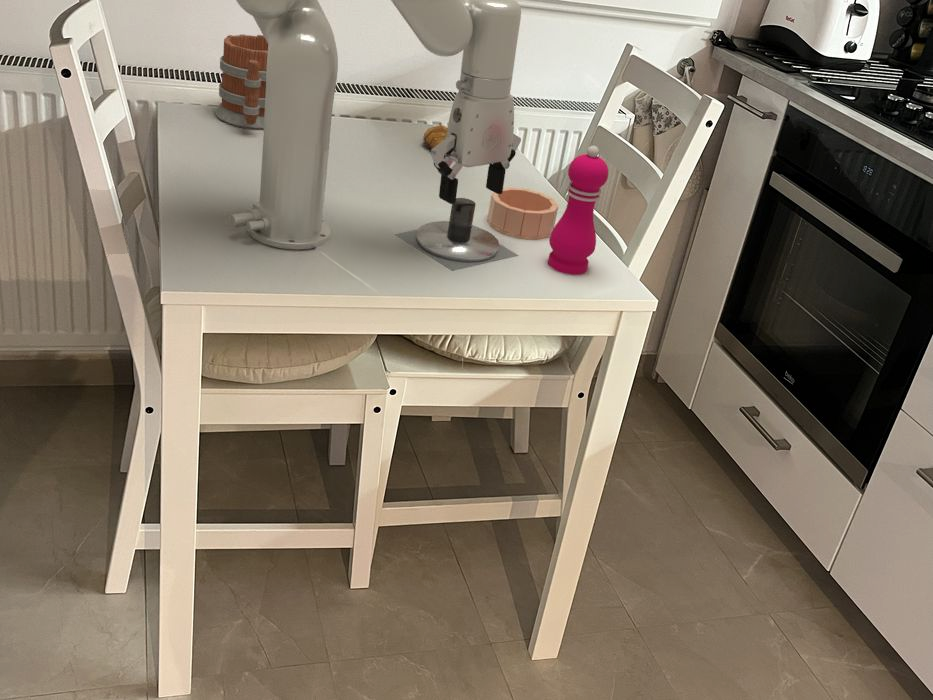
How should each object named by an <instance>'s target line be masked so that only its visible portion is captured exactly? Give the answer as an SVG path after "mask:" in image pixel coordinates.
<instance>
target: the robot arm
mask: <svg viewBox="0 0 933 700" xmlns="http://www.w3.org/2000/svg"><path fill="white" fill-rule="evenodd" d="M235 1H236V3H237V4H238V6H239V7H240V8H241V9H242V10H243V11H244V12H246V13H247V14H249V15H250V16H252V17H253V19H254V21H255V23H256V25H257V27H258V28H259V31H260V32H261V34H262V35H263V36H264V37H265V39H266V41H267V43H268V55H267V72H266V96H265V112H264V129H262V130H263V136H262V137H263V138H262V151H261V152H262V153H261V155H262V156H261V171H260V172H261V173H260V186H259V187H260V188H259V201H256V202H253V203H252V209H249V210H248V211H246V212H240V213H239V212H238V213H233V214H230V215H229V217H228V223H229V225H230V227H231V228H239V227H244V226H245V228H246V230H247V232H248V234H249V235H250V237H252V238H253V239H254V240H256V241H258V242H259V243H262V244H264V245H267V246H270V247H274V248H279V249H285V250H310V249H313V248H314V249H315V248H317V247H320V246H322V245H325V244H327V243H328V242H329V241H330V240H331V238H332V231H333V230H332V226H330V224H329V223H328V222H327V221H325V220H324V219H323V217H324V208H325V207H324V204H325V197H326V195H325V194H326V182H327V174H328V163H329V162H328V161H329V153H330V142H331V140H330V139H331V128H332V117H333V116H332V115H333V108H334V99H335V94H336V93H335V92H336V87H337V79H338V70H339V55H338V49H337V48H338V47H337V45H336V44H337V43H336V41H335V34H334V32H333V29H332V26H331V23H330V22H329V20H328V18H327V16H326V14H325V12H324V10H323V8H322V6H321V4H320V2H319V0H235ZM390 2H392V5H394V7H395V8H396V10H397V11H398V12H399V14H400V15H401V16H402V18H403V19H404V21H405V22H406V24H407V25H408V26H409V27H410V29H411V30H412V32H413V34H414V35H415V37H416V38H417V40H419V41H420V43H421V45H423V47H424V48H425V49H426V51H429V52H430V53H432V54H434V55H436V56H439V57H447V58H448V57H452V56H455V55H458V54H460V53H461V52H462V59H461V68H460V75H459V76H460V77H459V80H457V81H456V82H455V87H456V89H457V90H458V93H455V96H454V100H453V103H452V106H451V110H450V114H449V118H448V123H447V127H446V128H447V134H446V139H444V140H443V141H442V142H440V143H439V144H438V145H437V146H435V147H434V148H433V149H432V150H431V149H430V155H431V158H432V161H433V166H434V167H435V168H436V170H437V173H438V174H440V176H441V177H440V185H439V193H438V197H439V199H440V200H443V201H445V202H446V203H448V204H450V205H452V204H454V203H455V202H456V198H457V193H458V186H459V184H458V183H459V179H458V178H457V177H456V176H457V175H458V174H459V172H460V171H461V170H462V168H463V167H465V168H475V167H480V166H481V167H482V166H486V165H488V167H487V169H488V171H487V174H486V175H487V176H486V185H485V188H486V189H487V190H489V191H491V192H492V193H494V192H495V193H497V194H502V192H503V188H504V184H505V177H506V170H508V169H509V168H510V165H511V163H510V162H512V160H513V159H514V157H515V156H516V154H517V150H518V148H519V146H520V143H521V142H522V138H521V137H520V136H518V135H516V134H515V133H514V128H515V127H514V126H515V103H514V96H513V95H512V94H511V90H512V83H513V76H514V75H513V74H514V67H515V62H516V54H517V47H518V40H519V32H520V26H521V25H520V24H521V18H522V8H521V5H520V4H519V2H517V0H390ZM444 155H446V158H444ZM453 163H454V164H453ZM452 164H453V165H452ZM451 165H452V167H450V166H451Z"/></svg>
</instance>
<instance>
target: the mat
mask: <svg viewBox="0 0 933 700" xmlns="http://www.w3.org/2000/svg"><path fill="white" fill-rule="evenodd" d="M417 231H418V229H416V230H411V231H405V232H400V233H399V232H398V233H395V236H396V237H398V238H400V239H401V240H403V241H404V242H406V243H408V244H410V245H411V246H412V247H414V248H416V249H417V250H419V251H420V252H422V253H423V254H425V255H426V256H428V257H430V258H431V259H433V260H434V261H436V262H438V263H439V264H440V265H442V266H444V267H445V268H448V270H450V271H452V272H453V271H457V270H462V269H467V268H471V267H475V266H480V265H484V264H488V263H493V262H497V261H498V262H499V261H502V260H506V259H510V258H514V257H515V258H516V257H519V254H517V253H516V252H514V251H512V250H511V249H509V248H507V247H505V246H503V245H501V244H500V243H499V247H498V252H497V255H496V256H495V257H494V258H492V259H490V260H488V261H484V262H476V263H464V262H455V261H450V260H446V259H442V258H439V257H436V256H434V255H431V254H429V253H428V252H426V251H424V250H423V249H422V248H421V247H419V245H418V244H417V241H416V237H417Z"/></svg>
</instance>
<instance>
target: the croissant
mask: <svg viewBox="0 0 933 700" xmlns="http://www.w3.org/2000/svg"><path fill="white" fill-rule="evenodd" d="M447 128H448V127H446V126H444V125H442V124H441V125H436V126H432V127H428V129H427V130H426V131H425V133H424V134H423V141H424V142H425V145H426V147H427V148H428V149H429V150H430V151H431V150H432V149H433V148H434V147H435V146H437V145H438V144H439V143H440V142H442V141H443V140H444V139H446V134H447ZM445 158H446V155H444V159H445Z"/></svg>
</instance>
